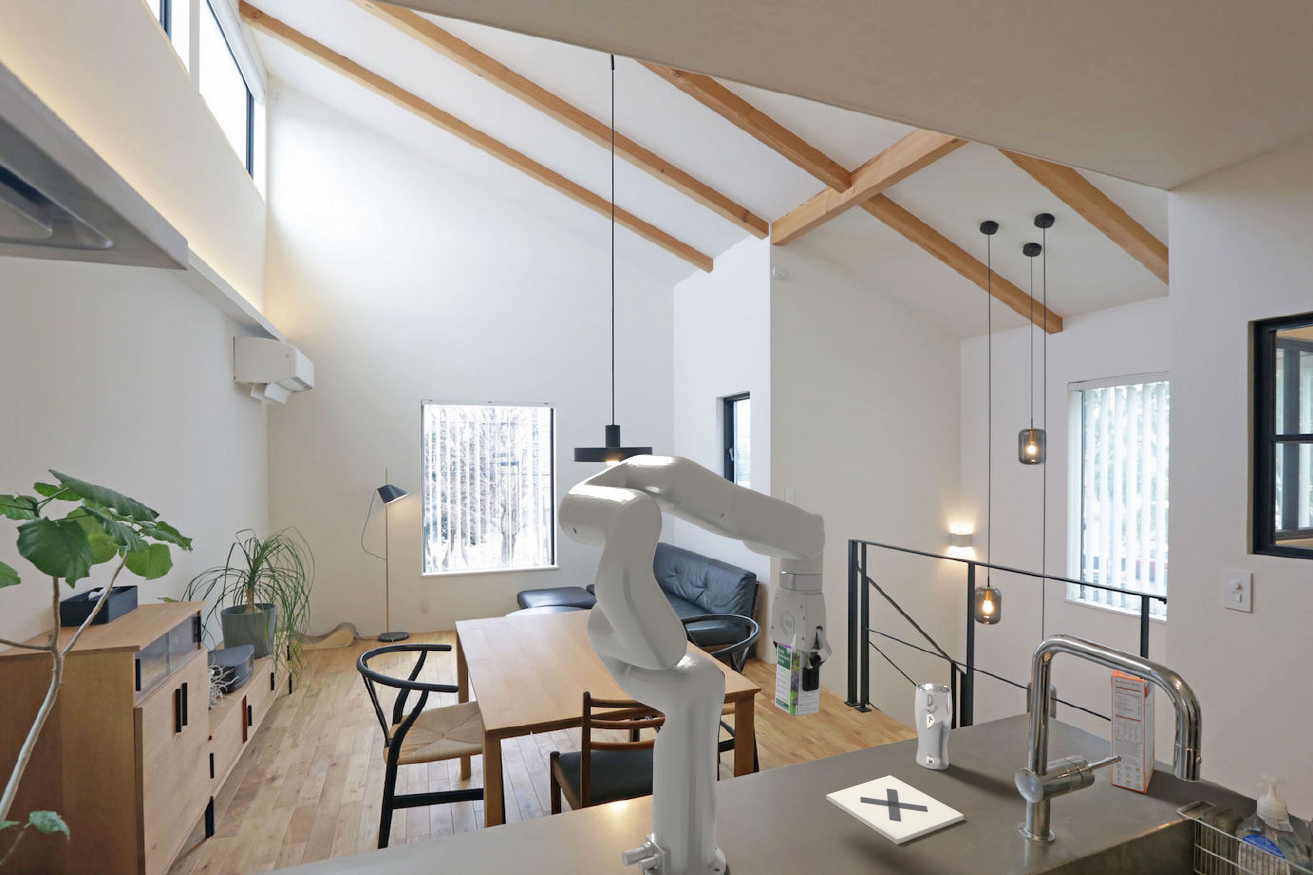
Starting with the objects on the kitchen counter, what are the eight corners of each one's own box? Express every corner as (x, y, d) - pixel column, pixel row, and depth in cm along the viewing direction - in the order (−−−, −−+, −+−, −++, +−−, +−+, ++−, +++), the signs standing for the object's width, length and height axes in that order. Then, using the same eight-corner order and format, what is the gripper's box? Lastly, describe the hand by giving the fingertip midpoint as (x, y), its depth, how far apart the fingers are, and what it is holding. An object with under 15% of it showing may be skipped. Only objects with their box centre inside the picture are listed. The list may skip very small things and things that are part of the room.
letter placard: (897, 844, 113) (897, 838, 113) (826, 799, 127) (826, 794, 127) (963, 819, 121) (963, 814, 121) (890, 779, 135) (890, 774, 135)
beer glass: (954, 772, 138) (955, 695, 138) (916, 768, 139) (917, 692, 139) (947, 757, 145) (948, 683, 145) (911, 753, 146) (912, 680, 146)
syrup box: (773, 706, 127) (776, 624, 127) (800, 702, 130) (803, 621, 130) (792, 717, 122) (795, 632, 122) (820, 713, 124) (823, 629, 125)
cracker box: (1119, 759, 145) (1121, 657, 145) (1155, 769, 141) (1157, 663, 141) (1107, 784, 134) (1109, 673, 134) (1146, 795, 130) (1148, 680, 130)
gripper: (753, 574, 132) (750, 672, 131) (818, 592, 117) (815, 703, 116) (785, 572, 135) (782, 667, 135) (852, 589, 120) (848, 696, 120)
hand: (797, 683), depth 126 cm, fingers closed on syrup box, 5 cm apart
